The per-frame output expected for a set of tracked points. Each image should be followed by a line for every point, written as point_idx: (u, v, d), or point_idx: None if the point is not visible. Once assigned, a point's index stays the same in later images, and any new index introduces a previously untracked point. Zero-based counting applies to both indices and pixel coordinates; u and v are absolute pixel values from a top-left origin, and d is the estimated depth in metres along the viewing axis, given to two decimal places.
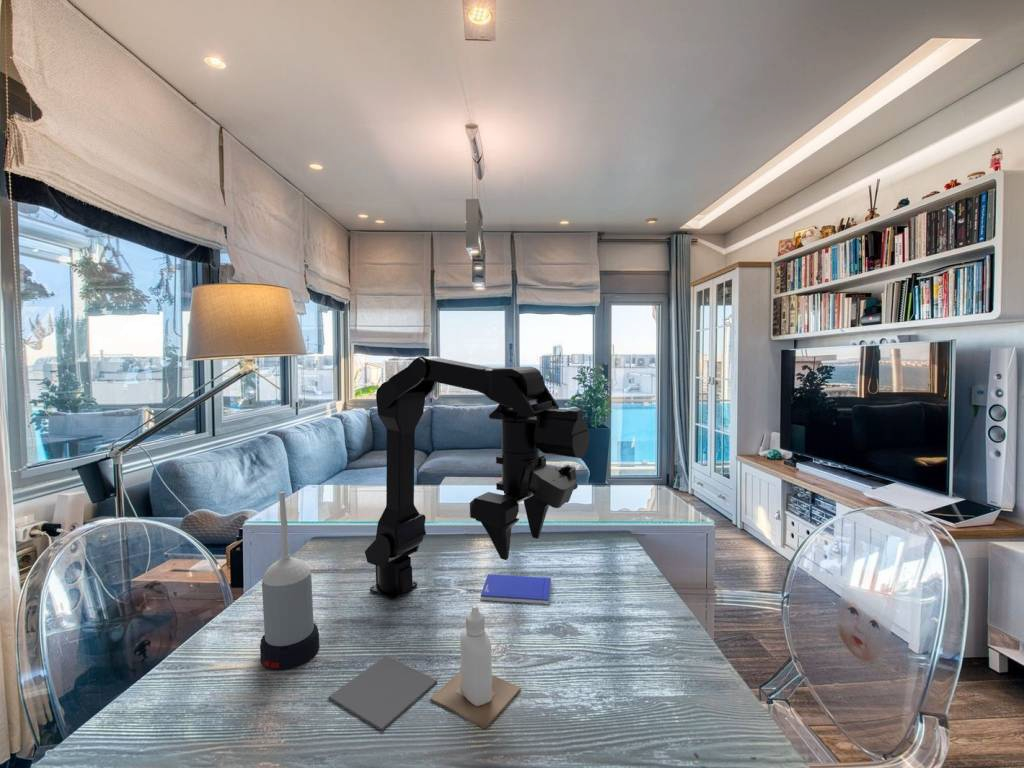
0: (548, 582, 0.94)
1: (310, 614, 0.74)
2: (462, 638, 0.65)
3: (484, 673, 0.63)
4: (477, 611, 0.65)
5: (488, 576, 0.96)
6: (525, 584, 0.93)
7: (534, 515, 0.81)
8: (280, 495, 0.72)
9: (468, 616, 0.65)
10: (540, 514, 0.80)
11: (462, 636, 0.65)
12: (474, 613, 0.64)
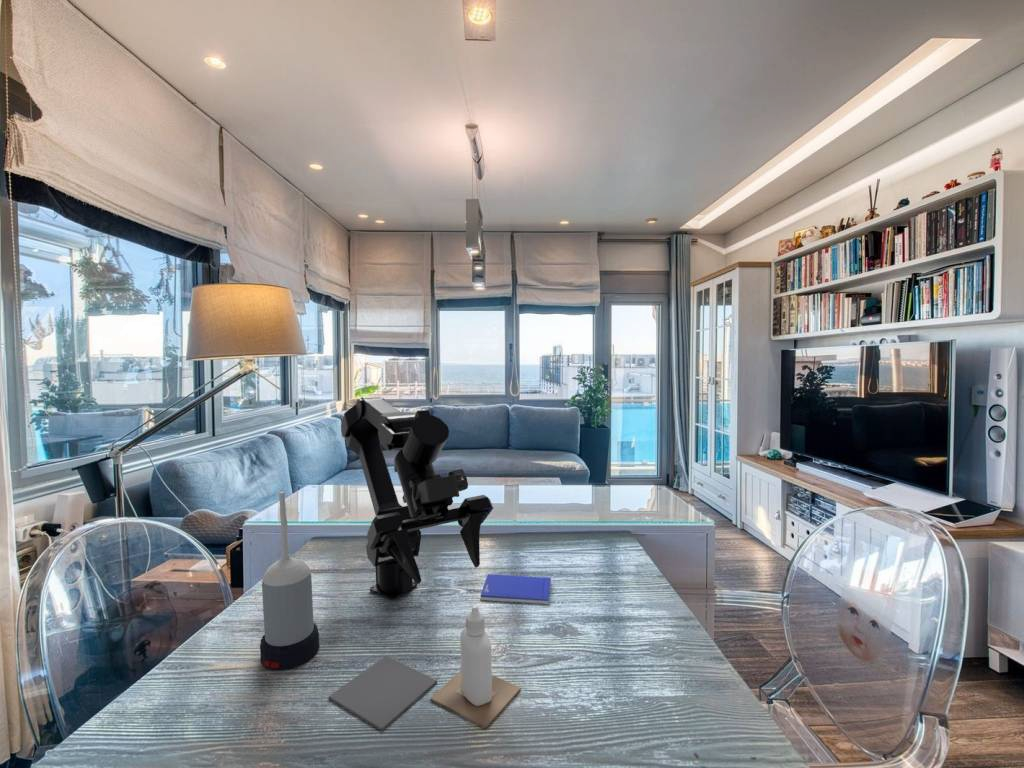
0: (548, 582, 0.94)
1: (310, 614, 0.74)
2: (462, 638, 0.65)
3: (484, 673, 0.63)
4: (477, 611, 0.65)
5: (488, 576, 0.96)
6: (524, 584, 0.93)
7: (469, 543, 0.76)
8: (280, 495, 0.72)
9: (468, 616, 0.65)
10: (471, 539, 0.76)
11: (462, 636, 0.65)
12: (474, 613, 0.64)
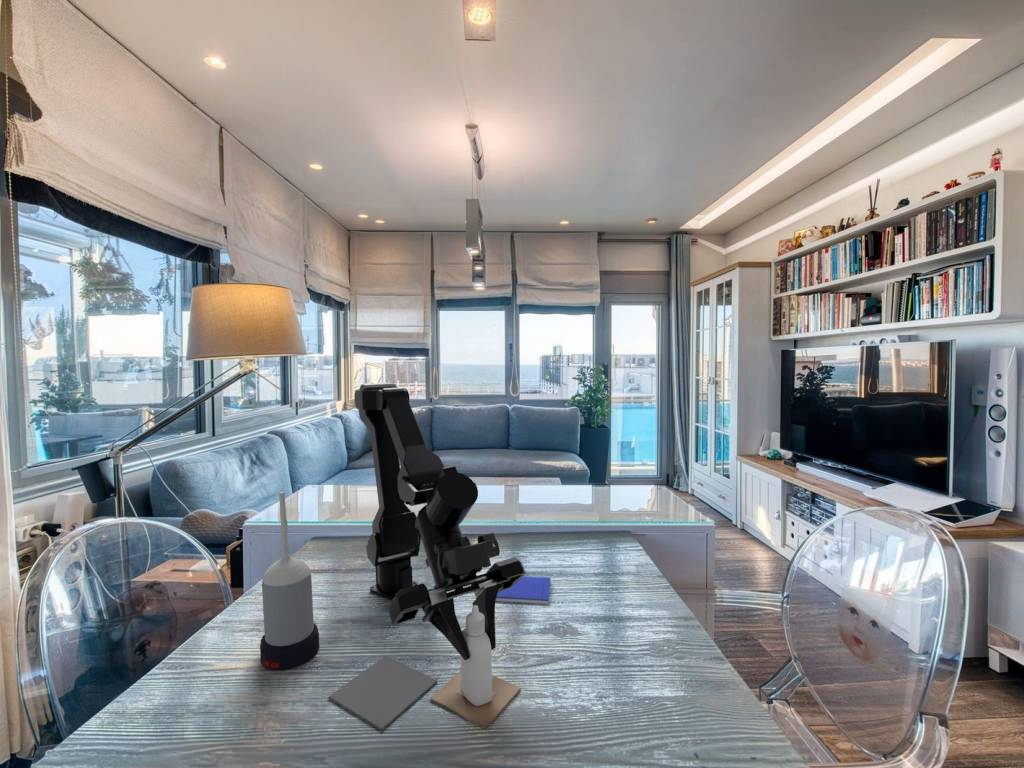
0: (547, 582, 0.94)
1: (310, 614, 0.74)
2: None
3: (484, 673, 0.63)
4: (477, 611, 0.65)
5: None
6: (524, 584, 0.93)
7: None
8: (280, 495, 0.72)
9: (468, 616, 0.65)
10: (485, 616, 0.67)
11: None
12: (474, 613, 0.64)
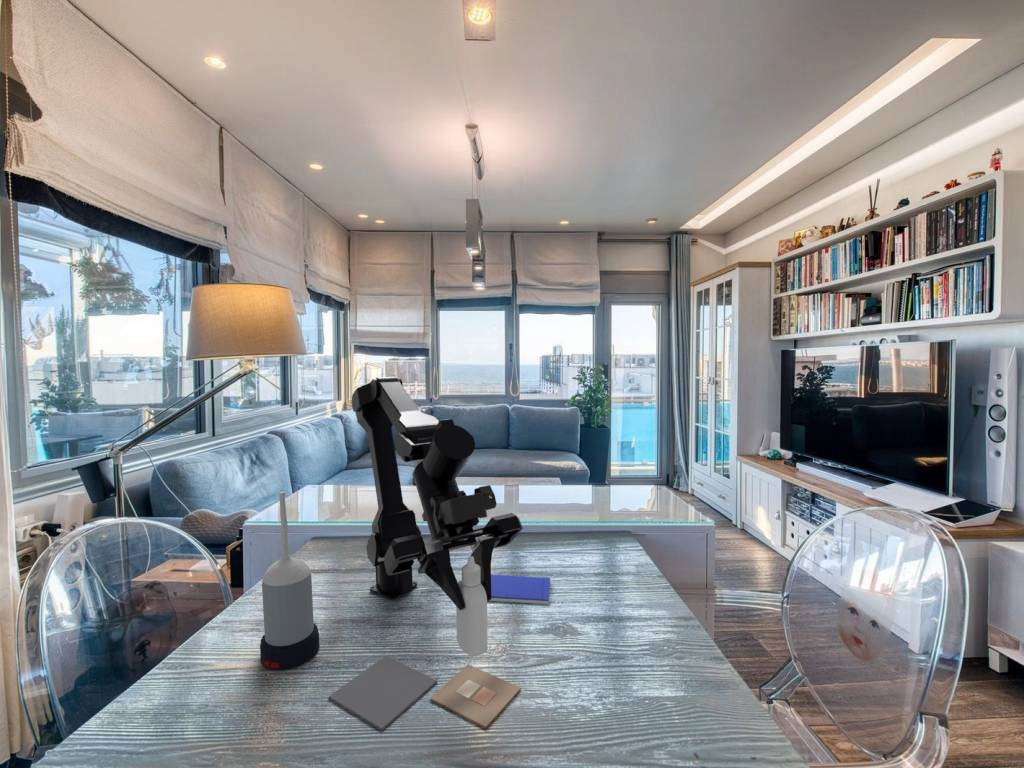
0: (547, 582, 0.94)
1: (310, 614, 0.74)
2: None
3: (479, 623, 0.63)
4: (473, 562, 0.64)
5: None
6: (524, 584, 0.93)
7: None
8: (280, 495, 0.72)
9: (464, 567, 0.64)
10: (481, 568, 0.66)
11: None
12: (470, 564, 0.64)
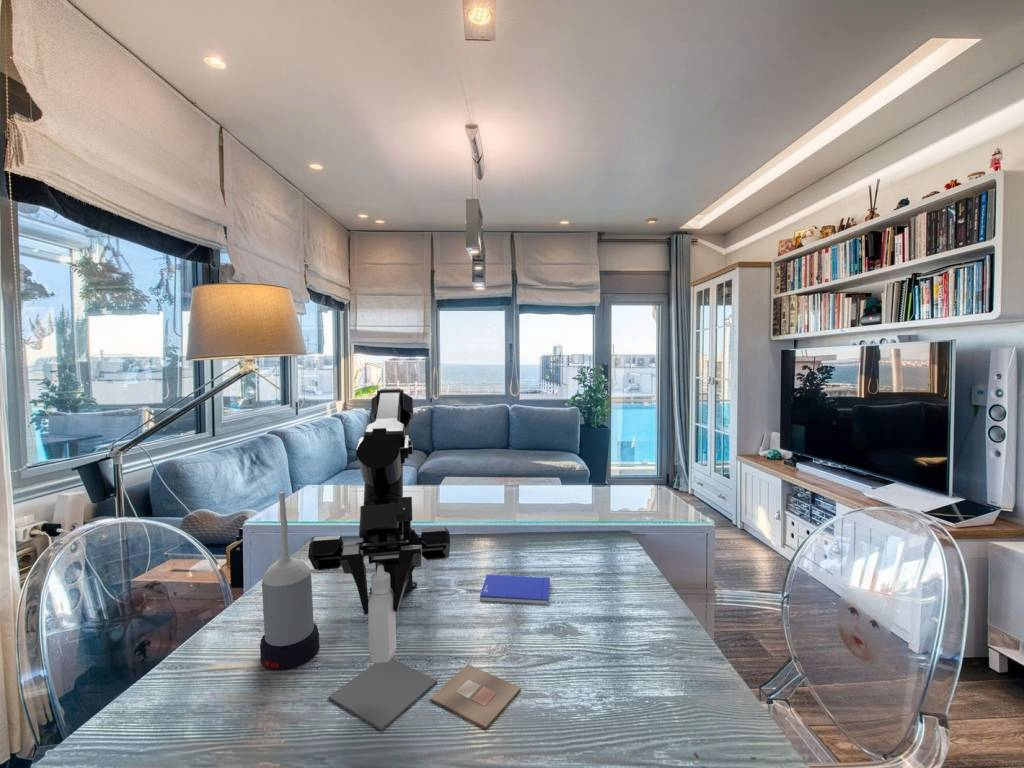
0: (547, 582, 0.94)
1: (310, 614, 0.74)
2: None
3: (378, 632, 0.63)
4: (381, 570, 0.65)
5: (487, 576, 0.96)
6: (524, 584, 0.93)
7: None
8: (280, 495, 0.72)
9: (374, 574, 0.66)
10: (396, 578, 0.67)
11: (371, 593, 0.67)
12: (378, 572, 0.65)
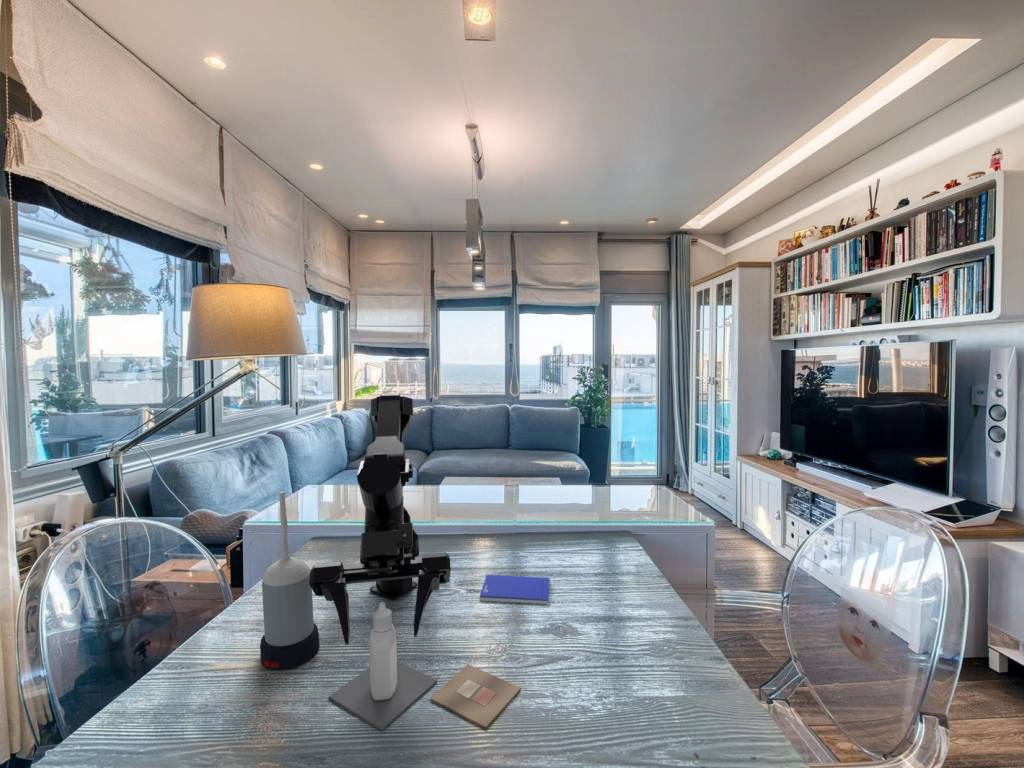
0: (547, 582, 0.94)
1: (310, 614, 0.74)
2: (371, 631, 0.67)
3: (380, 670, 0.64)
4: (382, 608, 0.66)
5: (487, 576, 0.96)
6: (524, 584, 0.93)
7: None
8: (280, 495, 0.72)
9: (375, 611, 0.66)
10: None
11: (372, 629, 0.67)
12: (379, 609, 0.66)
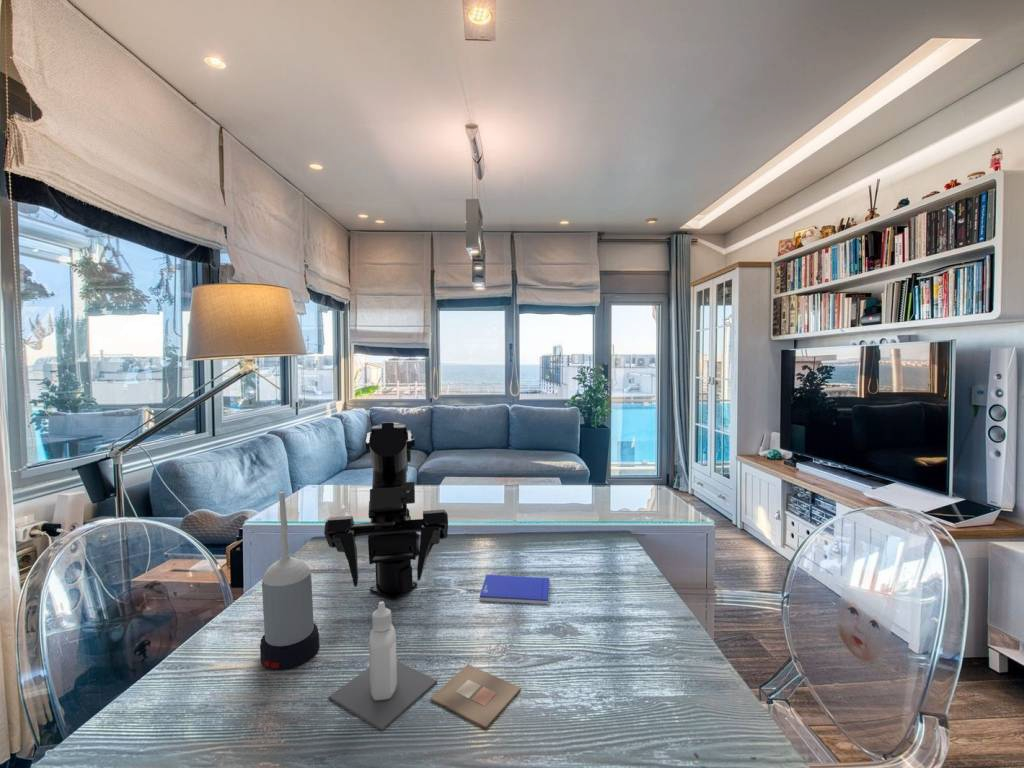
0: (547, 582, 0.94)
1: (310, 614, 0.74)
2: (371, 631, 0.67)
3: (380, 669, 0.64)
4: (382, 607, 0.66)
5: (486, 576, 0.96)
6: (523, 584, 0.93)
7: None
8: (280, 495, 0.72)
9: (375, 611, 0.66)
10: (419, 551, 0.77)
11: (372, 629, 0.67)
12: (379, 609, 0.66)
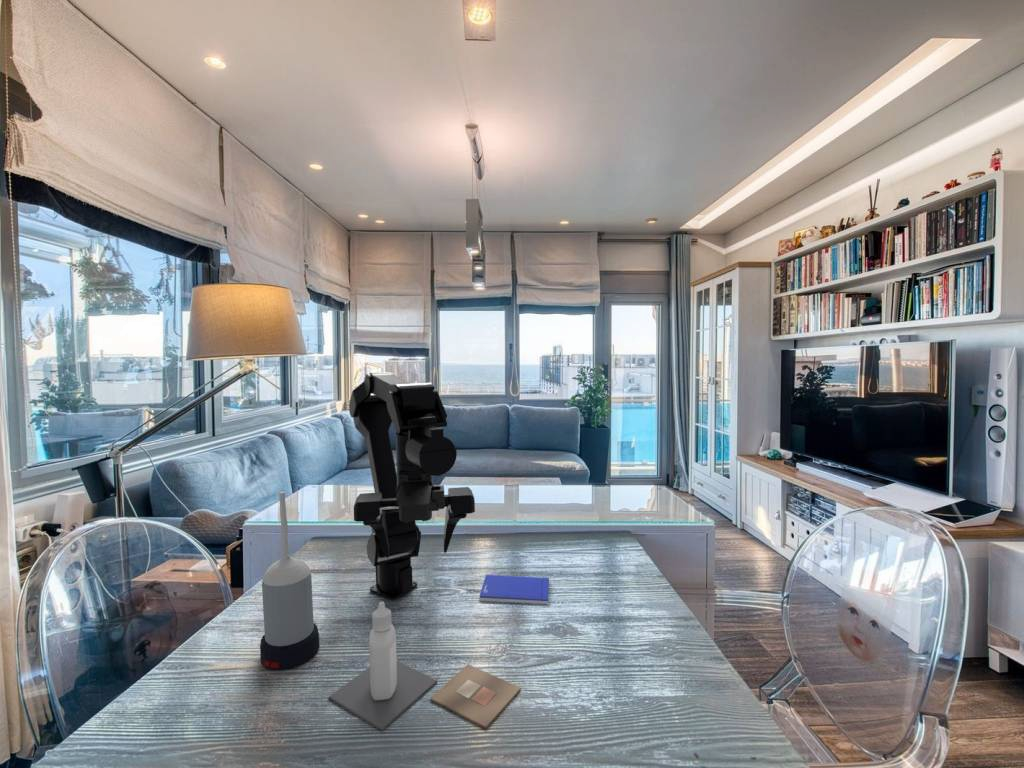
0: (546, 582, 0.94)
1: (310, 614, 0.74)
2: (371, 631, 0.67)
3: (380, 669, 0.64)
4: (382, 607, 0.66)
5: (486, 577, 0.96)
6: (523, 584, 0.93)
7: (445, 529, 0.82)
8: (280, 495, 0.72)
9: (375, 611, 0.66)
10: (445, 530, 0.81)
11: (372, 629, 0.67)
12: (379, 609, 0.66)
